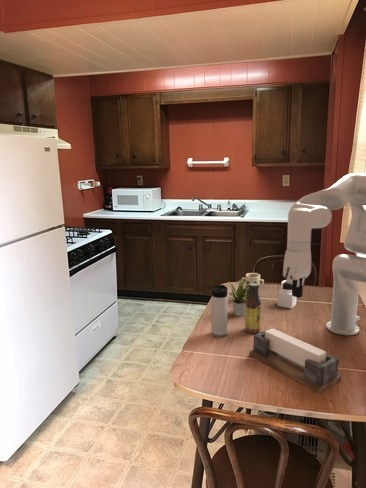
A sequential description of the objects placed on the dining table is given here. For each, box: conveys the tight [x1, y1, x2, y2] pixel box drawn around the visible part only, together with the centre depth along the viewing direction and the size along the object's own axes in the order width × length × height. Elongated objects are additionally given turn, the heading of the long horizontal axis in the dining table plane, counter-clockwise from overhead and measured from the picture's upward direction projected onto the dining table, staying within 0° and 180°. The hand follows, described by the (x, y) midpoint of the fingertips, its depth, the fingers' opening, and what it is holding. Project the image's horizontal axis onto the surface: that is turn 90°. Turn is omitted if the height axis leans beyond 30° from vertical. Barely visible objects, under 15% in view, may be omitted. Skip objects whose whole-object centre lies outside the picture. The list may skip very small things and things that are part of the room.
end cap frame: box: [248, 328, 342, 394], centre depth 134 cm, size 12×29×8 cm, turn 37°
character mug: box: [241, 272, 265, 298], centre depth 194 cm, size 11×7×13 cm, turn 68°
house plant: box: [227, 279, 253, 317], centre depth 176 cm, size 14×14×16 cm
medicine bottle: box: [277, 279, 298, 310], centre depth 187 cm, size 7×7×12 cm
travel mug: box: [210, 284, 229, 338], centre depth 157 cm, size 6×7×20 cm
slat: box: [264, 328, 327, 367], centre depth 133 cm, size 22×4×6 cm, turn 37°
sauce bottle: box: [244, 283, 262, 334], centre depth 160 cm, size 7×6×20 cm
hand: (297, 296), depth 137 cm, fingers closed
